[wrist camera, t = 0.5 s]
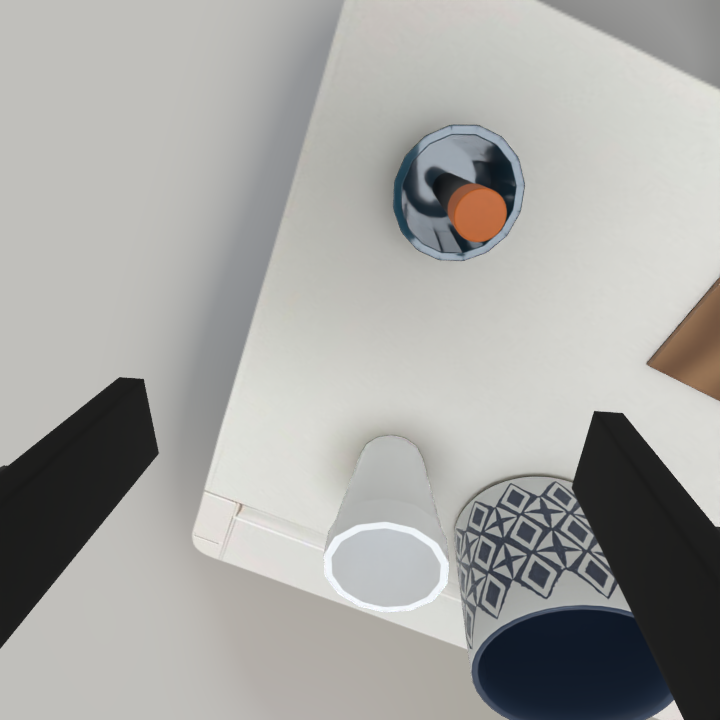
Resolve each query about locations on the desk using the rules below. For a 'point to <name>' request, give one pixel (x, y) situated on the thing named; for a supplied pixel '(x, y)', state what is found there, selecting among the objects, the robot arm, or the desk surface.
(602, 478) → the robot arm
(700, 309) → the brown wooden board
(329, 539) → the foam cup
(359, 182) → the desk surface
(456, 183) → the marker
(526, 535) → the planter
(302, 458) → the desk surface
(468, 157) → the pen cup
